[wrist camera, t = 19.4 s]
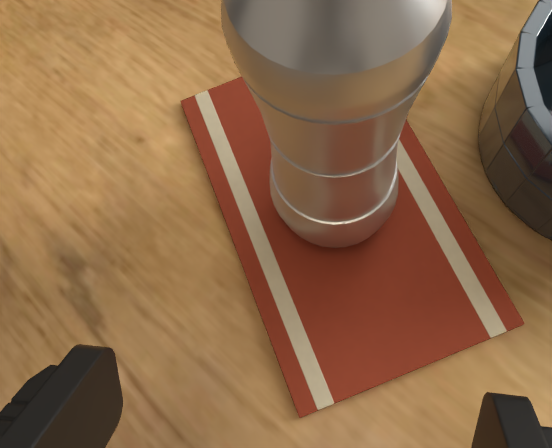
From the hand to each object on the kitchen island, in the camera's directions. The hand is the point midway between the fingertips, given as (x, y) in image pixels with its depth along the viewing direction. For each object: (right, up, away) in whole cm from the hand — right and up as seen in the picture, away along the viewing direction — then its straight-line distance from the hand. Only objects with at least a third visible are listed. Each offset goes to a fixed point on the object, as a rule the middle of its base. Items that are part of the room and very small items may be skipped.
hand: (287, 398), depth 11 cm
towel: (+3, +5, +17) cm, 18 cm away
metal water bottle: (+3, +5, +17) cm, 18 cm away
